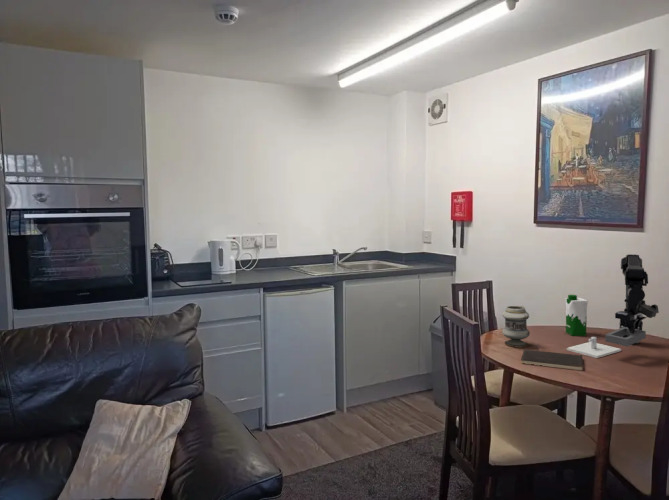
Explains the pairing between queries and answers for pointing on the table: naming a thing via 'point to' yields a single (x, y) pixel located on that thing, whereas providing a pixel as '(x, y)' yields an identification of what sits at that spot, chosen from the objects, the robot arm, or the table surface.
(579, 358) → the hardcover book
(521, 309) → the apothecary jar
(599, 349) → the hook board
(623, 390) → the table surface
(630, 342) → the grey rectangular frame
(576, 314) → the milk carton
